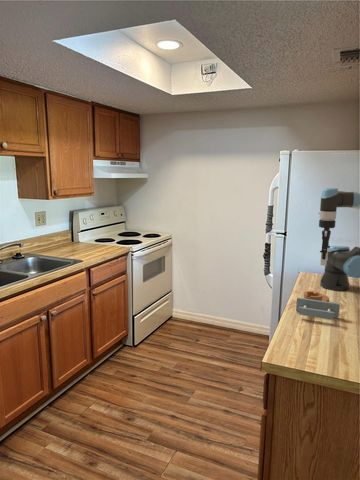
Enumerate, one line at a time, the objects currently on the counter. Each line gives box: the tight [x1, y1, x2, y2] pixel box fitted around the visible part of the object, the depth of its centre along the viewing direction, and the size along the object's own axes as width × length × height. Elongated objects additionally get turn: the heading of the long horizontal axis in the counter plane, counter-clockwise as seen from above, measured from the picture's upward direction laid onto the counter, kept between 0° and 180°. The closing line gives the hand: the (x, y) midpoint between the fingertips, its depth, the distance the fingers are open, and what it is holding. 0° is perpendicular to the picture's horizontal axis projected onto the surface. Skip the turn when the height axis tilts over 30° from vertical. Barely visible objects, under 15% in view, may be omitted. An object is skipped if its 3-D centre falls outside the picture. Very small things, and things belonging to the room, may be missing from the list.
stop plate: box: [295, 297, 341, 321], centre depth 159 cm, size 9×18×6 cm, turn 65°
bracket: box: [303, 290, 330, 302], centre depth 174 cm, size 18×8×7 cm, turn 139°
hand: (323, 262), depth 183 cm, fingers open, 10 cm apart
